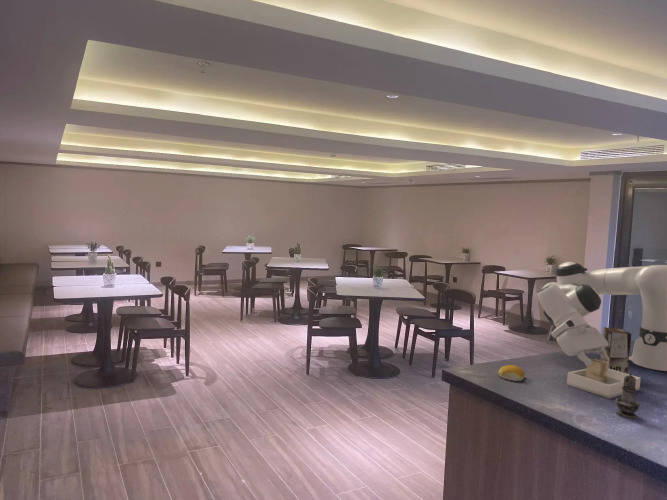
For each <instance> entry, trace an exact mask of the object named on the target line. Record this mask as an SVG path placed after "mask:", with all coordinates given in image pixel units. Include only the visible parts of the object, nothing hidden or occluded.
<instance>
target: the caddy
mask: <svg viewBox="0 0 667 500" xmlns="http://www.w3.org/2000/svg"><path fill="white" fill-rule="evenodd" d="M586 370H587V367H586V368H582V369H578V370H573V371H569V372H567V377H566V379H567V380H566V386H571V387H573V388H575V389H579V390H582V391H585V392H588V393H591V394H593V395H595V396H596V395H598V396H600V397H602V398H606V399H609V400H610V399H613V398H617V397H621V396H622V391H623V389H622V387H623V384H624V377H625V376H628V375H629V374H630V373H628V374H626V373H622V372H619V371H615V370H612V369H608V372H607V383H606V384H605V383H602V382H599V381H596V380H592V379H589V378H586ZM631 376H633V377H634V378H635V379H636V384H635V389H636V390H637V391H640V389H641V377H639V376H635V375H634V374H632V375H631Z"/></svg>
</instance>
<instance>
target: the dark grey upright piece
mask: <svg viewBox="0 0 667 500" xmlns="http://www.w3.org/2000/svg"><path fill="white" fill-rule="evenodd" d="M628 374H629V375H628V376H625V377H624V384H623V387H622V389H623V391H622V395H620V398H619V397H618V398H616V399H615V403H616V406H617V408H618V410H616V411H615V414H616V415H617V416H619V417H622V418H626V419H630V420H631V419H634V420H635V419H638V415H637V414H636V412H637V411H638V410H639V407H640V406H641V404H640V403H639V402H637V401H636V392H637V391H638V390H636V389H635V384H636V379H635V378H634V377H633V376H634V375H633V374H632V372H629V373H628ZM631 375H633V376H631Z"/></svg>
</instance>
